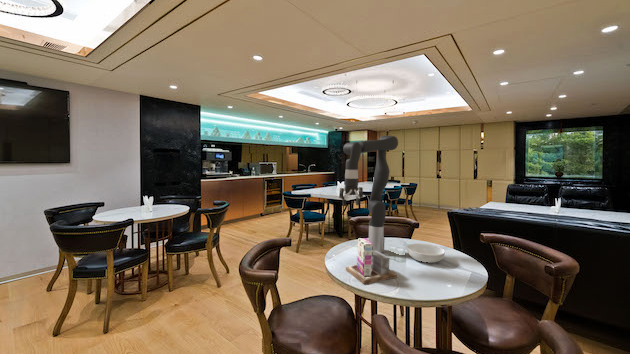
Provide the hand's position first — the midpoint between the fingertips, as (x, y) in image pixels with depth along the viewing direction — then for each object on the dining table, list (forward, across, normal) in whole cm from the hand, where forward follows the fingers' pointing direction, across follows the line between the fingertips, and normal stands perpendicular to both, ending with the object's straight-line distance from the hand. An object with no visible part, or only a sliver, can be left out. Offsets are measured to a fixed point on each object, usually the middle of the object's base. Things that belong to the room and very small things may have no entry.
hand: (350, 205), depth 151 cm
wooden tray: (+33, -2, +18) cm, 38 cm away
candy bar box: (+32, +2, +18) cm, 37 cm away
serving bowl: (+33, -44, +14) cm, 57 cm away
